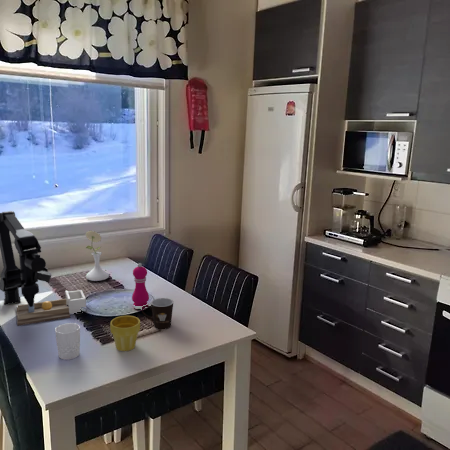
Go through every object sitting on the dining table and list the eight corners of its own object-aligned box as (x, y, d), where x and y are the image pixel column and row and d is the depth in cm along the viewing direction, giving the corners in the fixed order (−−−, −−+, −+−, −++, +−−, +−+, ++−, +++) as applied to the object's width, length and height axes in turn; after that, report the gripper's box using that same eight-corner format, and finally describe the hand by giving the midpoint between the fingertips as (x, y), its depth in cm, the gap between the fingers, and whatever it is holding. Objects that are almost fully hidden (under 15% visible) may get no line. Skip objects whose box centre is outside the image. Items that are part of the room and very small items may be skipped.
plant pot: (146, 347, 158) (146, 321, 156) (121, 357, 151) (120, 330, 148) (130, 337, 165) (129, 312, 163) (105, 346, 158) (104, 320, 156)
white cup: (60, 349, 155) (58, 323, 153) (83, 349, 156) (82, 322, 153) (54, 361, 147) (52, 333, 145) (78, 360, 148) (76, 333, 146)
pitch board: (16, 309, 187) (16, 302, 186) (65, 302, 195) (64, 296, 195) (17, 325, 172) (16, 318, 171) (70, 317, 180) (69, 310, 180)
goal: (66, 305, 192) (65, 290, 191) (82, 302, 195) (81, 288, 194) (69, 314, 183) (68, 299, 182) (86, 311, 186) (85, 296, 185)
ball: (41, 309, 185) (41, 300, 184) (52, 307, 187) (51, 299, 186) (42, 313, 182) (41, 303, 181) (52, 311, 183) (52, 302, 182)
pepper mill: (145, 311, 188) (144, 266, 183) (129, 309, 189) (128, 265, 185) (151, 305, 195) (150, 261, 190) (136, 303, 196) (135, 260, 192)
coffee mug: (177, 323, 177) (177, 299, 175) (167, 332, 169) (167, 308, 167) (151, 318, 181) (150, 295, 179) (140, 327, 173) (140, 303, 171)
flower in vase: (114, 278, 227) (112, 230, 222) (96, 284, 218) (94, 235, 212) (96, 273, 234) (94, 227, 228) (79, 279, 224) (76, 231, 219)
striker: (28, 309, 184) (26, 291, 182) (34, 308, 185) (32, 290, 183) (28, 316, 178) (27, 296, 176) (35, 315, 179) (33, 296, 177)
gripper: (51, 270, 172) (53, 307, 176) (47, 257, 189) (50, 291, 192) (20, 274, 168) (23, 312, 171) (18, 260, 184) (21, 295, 187)
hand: (30, 302), depth 181 cm, fingers open, 9 cm apart
